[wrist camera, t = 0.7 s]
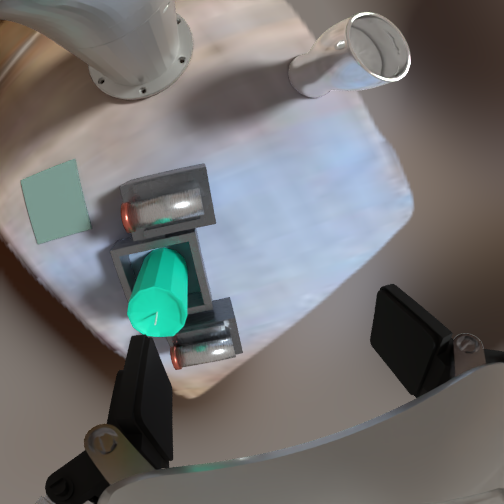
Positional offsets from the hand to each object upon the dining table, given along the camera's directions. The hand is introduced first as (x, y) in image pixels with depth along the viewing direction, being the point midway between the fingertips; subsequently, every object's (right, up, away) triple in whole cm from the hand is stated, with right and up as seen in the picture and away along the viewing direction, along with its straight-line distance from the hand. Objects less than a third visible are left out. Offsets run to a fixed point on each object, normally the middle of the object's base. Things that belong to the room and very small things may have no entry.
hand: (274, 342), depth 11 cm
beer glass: (+6, +25, +19) cm, 32 cm away
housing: (-11, +2, +25) cm, 27 cm away
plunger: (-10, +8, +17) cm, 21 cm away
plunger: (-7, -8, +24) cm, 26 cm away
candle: (-12, +1, +25) cm, 28 cm away
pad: (-26, +10, +18) cm, 33 cm away
